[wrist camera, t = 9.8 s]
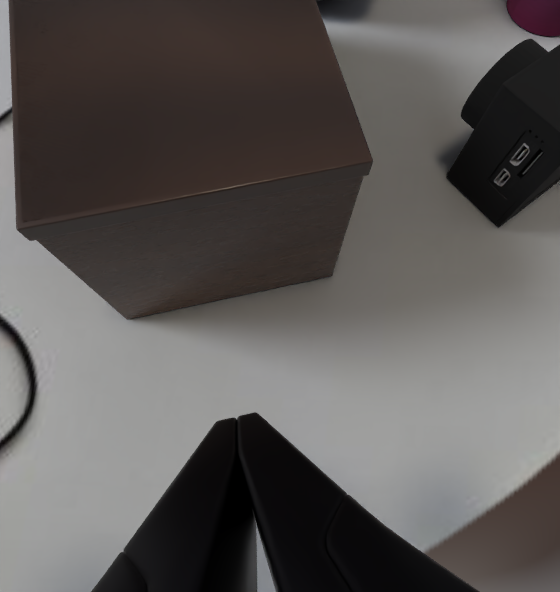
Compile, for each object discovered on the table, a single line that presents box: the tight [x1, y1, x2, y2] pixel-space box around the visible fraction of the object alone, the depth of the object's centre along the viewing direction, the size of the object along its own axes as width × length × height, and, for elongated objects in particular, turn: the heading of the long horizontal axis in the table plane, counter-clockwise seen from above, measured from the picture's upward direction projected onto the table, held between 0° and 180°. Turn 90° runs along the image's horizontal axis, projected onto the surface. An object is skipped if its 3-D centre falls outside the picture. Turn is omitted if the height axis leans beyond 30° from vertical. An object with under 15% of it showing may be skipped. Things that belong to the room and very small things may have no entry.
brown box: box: [9, 0, 373, 319], centre depth 21 cm, size 18×11×10 cm, turn 13°
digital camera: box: [447, 39, 560, 227], centre depth 23 cm, size 10×5×7 cm, turn 127°
